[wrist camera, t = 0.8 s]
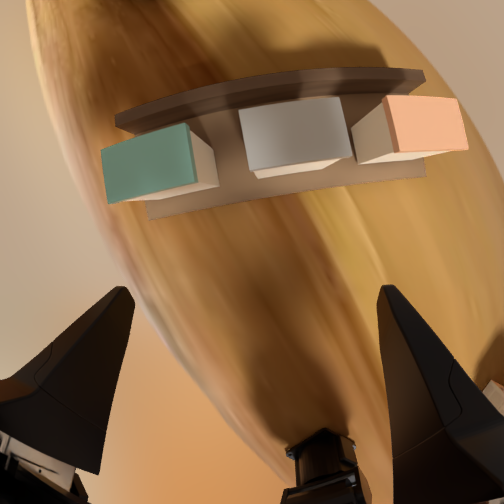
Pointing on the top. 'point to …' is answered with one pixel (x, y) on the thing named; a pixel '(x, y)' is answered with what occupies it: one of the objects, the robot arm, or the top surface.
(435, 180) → the top surface
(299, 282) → the top surface
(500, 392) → the small box
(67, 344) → the robot arm
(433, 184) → the top surface
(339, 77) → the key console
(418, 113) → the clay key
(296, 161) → the grey key
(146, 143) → the teal key
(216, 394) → the top surface
